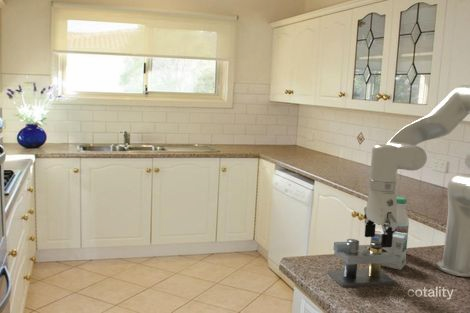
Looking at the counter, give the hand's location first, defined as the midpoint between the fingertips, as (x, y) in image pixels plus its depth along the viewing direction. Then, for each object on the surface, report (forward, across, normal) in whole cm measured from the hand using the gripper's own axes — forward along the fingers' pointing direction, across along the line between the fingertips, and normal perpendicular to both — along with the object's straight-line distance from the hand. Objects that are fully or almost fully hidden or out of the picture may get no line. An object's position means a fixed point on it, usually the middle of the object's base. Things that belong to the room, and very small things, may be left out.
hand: (377, 241), depth 146 cm
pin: (+10, 0, 0) cm, 10 cm away
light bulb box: (+12, +11, -11) cm, 19 cm away
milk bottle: (+12, +21, -20) cm, 31 cm away
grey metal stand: (+11, 0, +5) cm, 12 cm away
